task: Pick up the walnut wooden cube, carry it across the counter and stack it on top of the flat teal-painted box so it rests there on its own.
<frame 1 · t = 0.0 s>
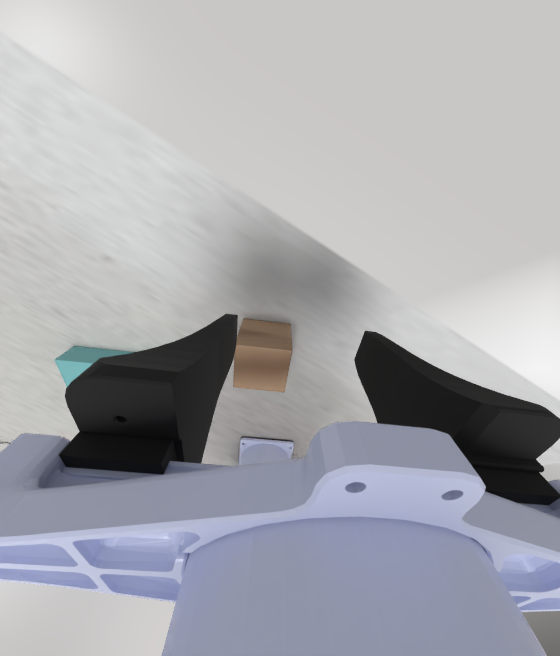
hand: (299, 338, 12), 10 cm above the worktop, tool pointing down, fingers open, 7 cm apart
walnut cube: (265, 340, 25), on the worktop
teal box: (144, 390, 29), on the worktop
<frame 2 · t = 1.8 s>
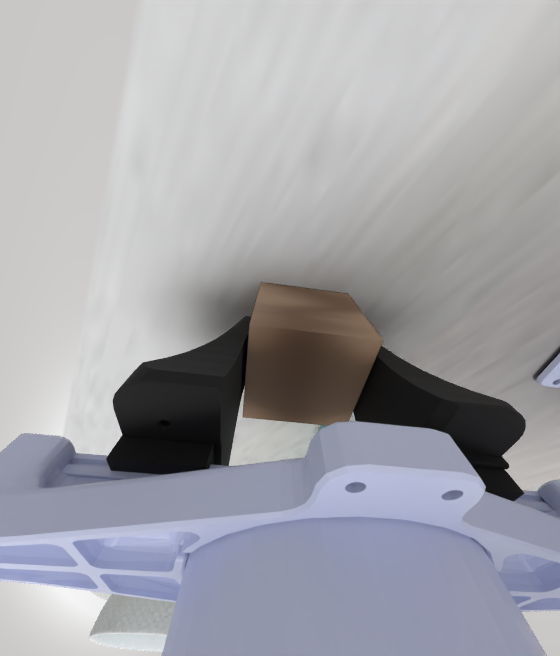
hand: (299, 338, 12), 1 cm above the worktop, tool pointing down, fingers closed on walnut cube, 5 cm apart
cereal bowl: (176, 569, 36), on the worktop
walnut cube: (297, 326, 14), on the worktop, touching gripper
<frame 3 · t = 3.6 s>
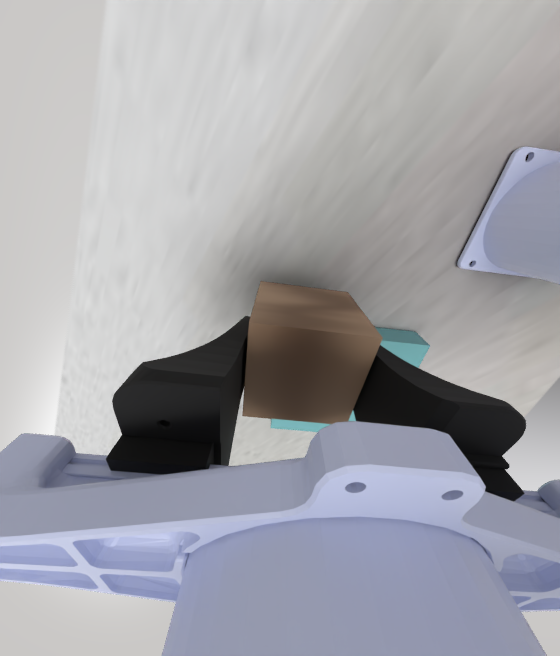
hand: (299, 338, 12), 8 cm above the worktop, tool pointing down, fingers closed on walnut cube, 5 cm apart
walnut cube: (297, 325, 14), point 7 cm above the worktop, touching gripper
teal box: (334, 372, 25), on the worktop
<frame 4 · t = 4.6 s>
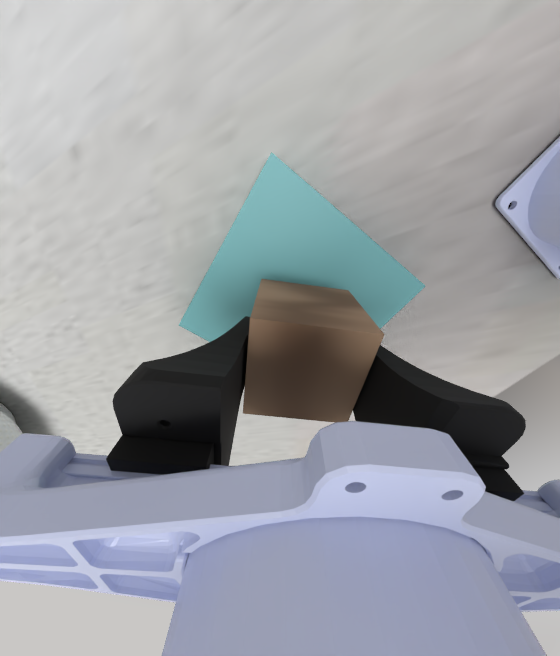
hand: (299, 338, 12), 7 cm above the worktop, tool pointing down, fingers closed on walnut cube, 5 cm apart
walnut cube: (297, 323, 14), point 5 cm above the worktop, touching gripper
teal box: (293, 292, 19), on the worktop
when the fingers open (5 cm above the worktop, at t = 5.4 s): walnut cube drops 1 cm, resting on teal box.
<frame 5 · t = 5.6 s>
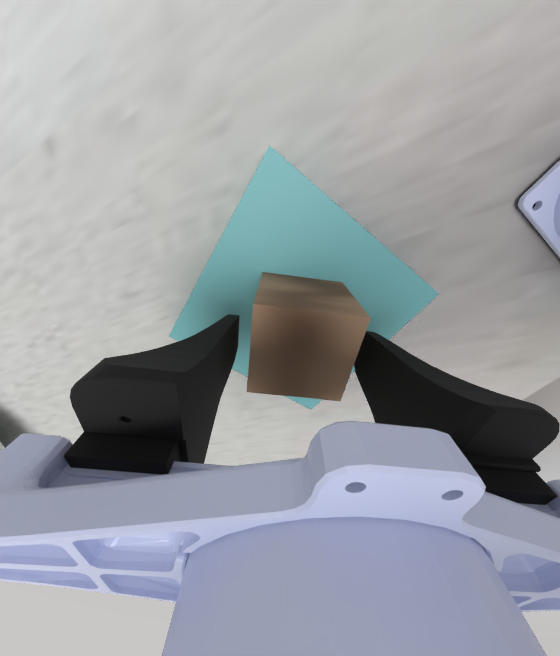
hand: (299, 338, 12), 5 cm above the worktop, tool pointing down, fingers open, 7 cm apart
walnut cube: (296, 313, 15), point 2 cm above the worktop, touching teal box
teal box: (294, 299, 17), on the worktop, touching walnut cube
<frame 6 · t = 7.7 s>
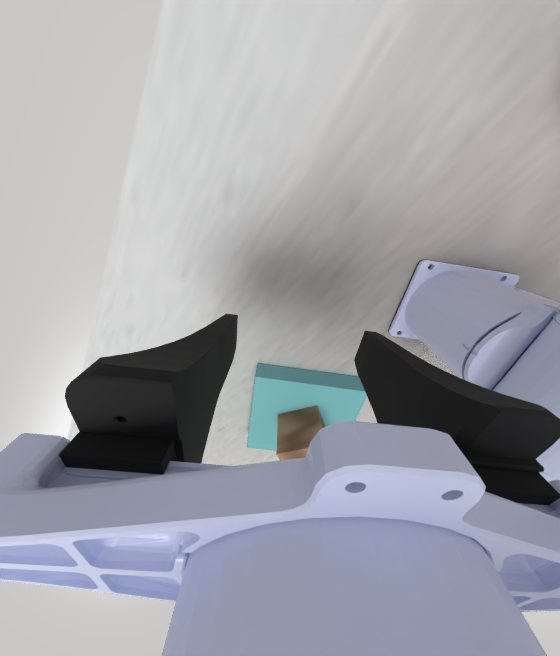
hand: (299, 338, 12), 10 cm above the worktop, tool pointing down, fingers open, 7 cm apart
walnut cube: (303, 423, 28), point 2 cm above the worktop, touching teal box
teal box: (300, 403, 30), on the worktop, touching walnut cube
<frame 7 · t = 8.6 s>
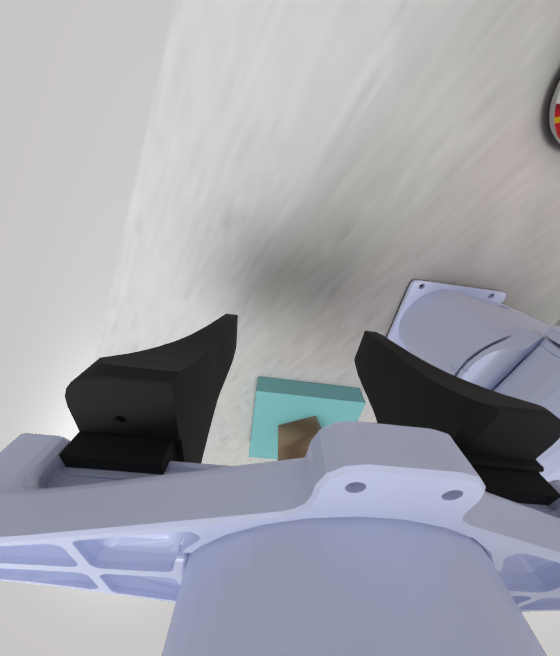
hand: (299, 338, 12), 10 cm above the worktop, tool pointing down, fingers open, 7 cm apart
walnut cube: (303, 432, 29), point 2 cm above the worktop
teal box: (300, 413, 31), on the worktop
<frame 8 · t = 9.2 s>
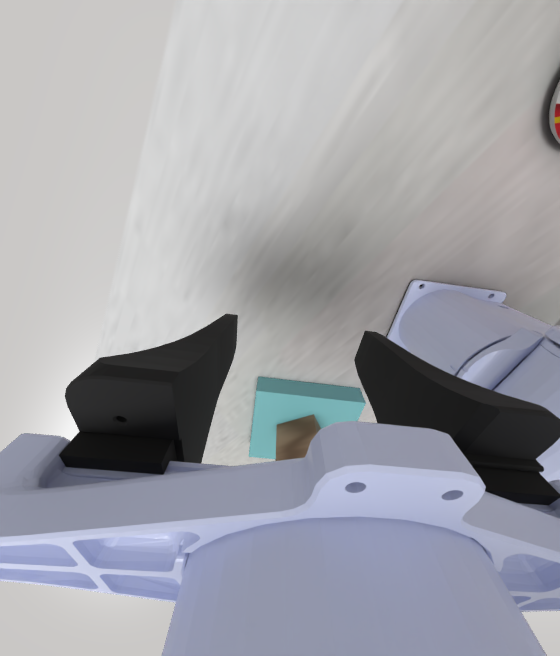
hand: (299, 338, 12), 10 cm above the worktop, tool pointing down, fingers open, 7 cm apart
walnut cube: (301, 431, 29), point 2 cm above the worktop
teal box: (300, 413, 31), on the worktop
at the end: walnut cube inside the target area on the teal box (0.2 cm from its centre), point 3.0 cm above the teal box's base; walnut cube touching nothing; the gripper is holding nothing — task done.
